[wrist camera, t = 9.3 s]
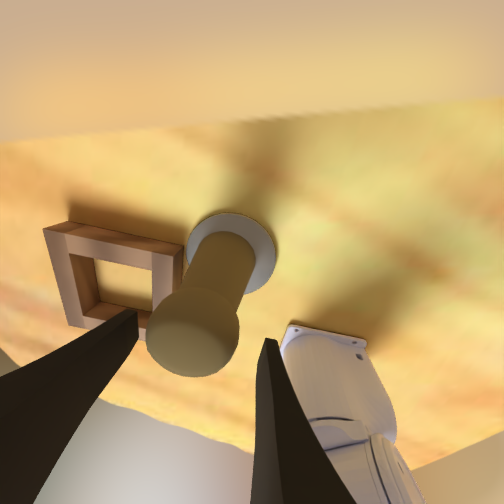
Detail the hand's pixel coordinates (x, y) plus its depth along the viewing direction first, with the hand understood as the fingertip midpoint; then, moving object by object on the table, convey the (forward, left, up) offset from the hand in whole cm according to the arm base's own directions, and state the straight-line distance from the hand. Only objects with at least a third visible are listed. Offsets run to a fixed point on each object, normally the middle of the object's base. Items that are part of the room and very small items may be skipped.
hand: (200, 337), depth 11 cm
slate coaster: (0, 0, -10) cm, 10 cm away
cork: (0, 0, -10) cm, 10 cm away
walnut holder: (+11, +6, -10) cm, 16 cm away
